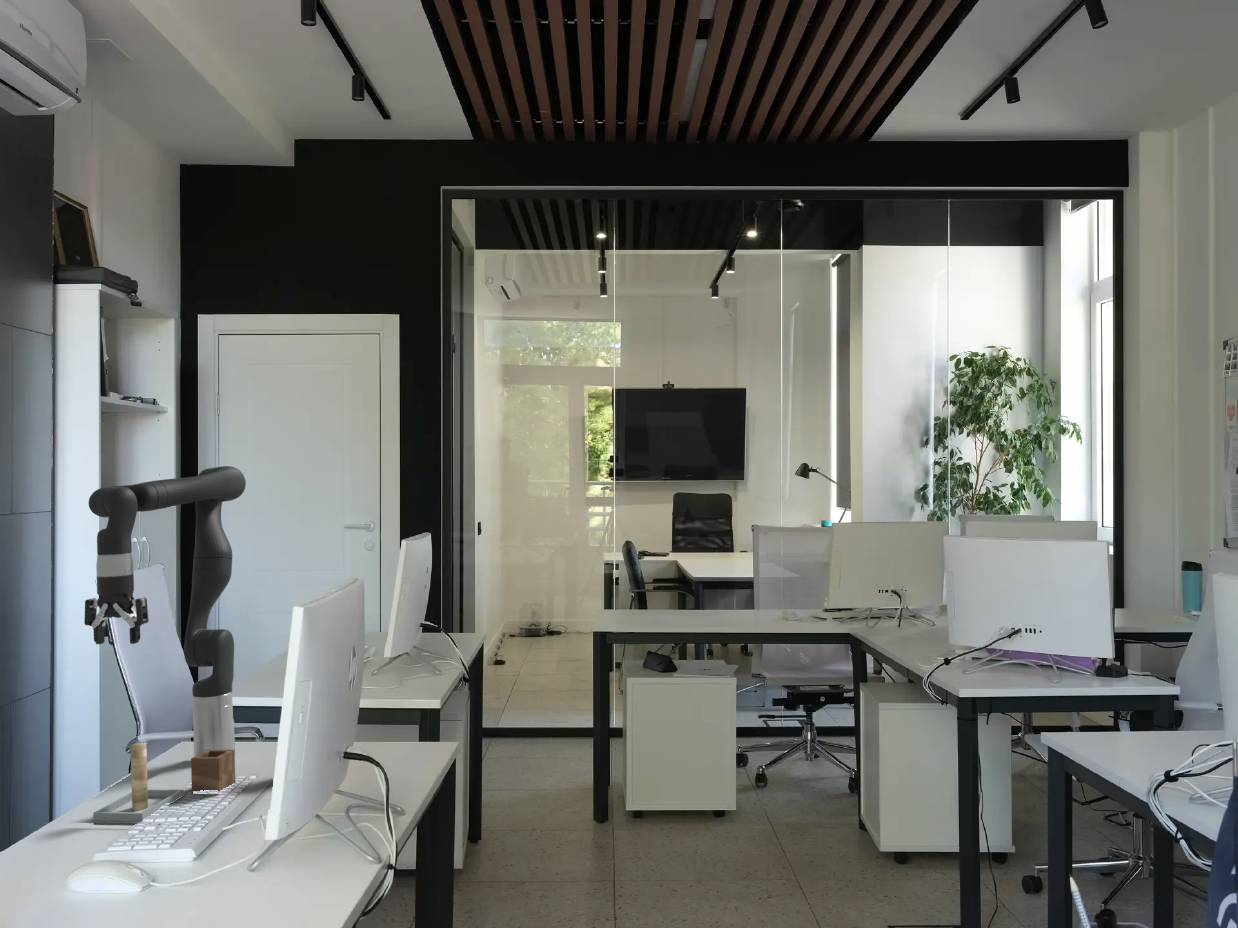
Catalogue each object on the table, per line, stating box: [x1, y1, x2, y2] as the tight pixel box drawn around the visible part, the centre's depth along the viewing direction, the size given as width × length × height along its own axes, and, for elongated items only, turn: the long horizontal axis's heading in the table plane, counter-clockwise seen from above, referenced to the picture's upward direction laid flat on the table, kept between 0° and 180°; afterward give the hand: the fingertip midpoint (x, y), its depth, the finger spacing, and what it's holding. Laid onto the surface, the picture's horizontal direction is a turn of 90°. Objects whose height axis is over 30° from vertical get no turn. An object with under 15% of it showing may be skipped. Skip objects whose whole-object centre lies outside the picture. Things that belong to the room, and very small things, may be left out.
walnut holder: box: [190, 749, 236, 792], centre depth 209 cm, size 7×7×9 cm
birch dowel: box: [130, 742, 149, 812], centre depth 199 cm, size 3×3×14 cm
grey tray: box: [92, 788, 184, 827], centre depth 199 cm, size 14×11×2 cm
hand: (117, 643), depth 213 cm, fingers open, 8 cm apart
